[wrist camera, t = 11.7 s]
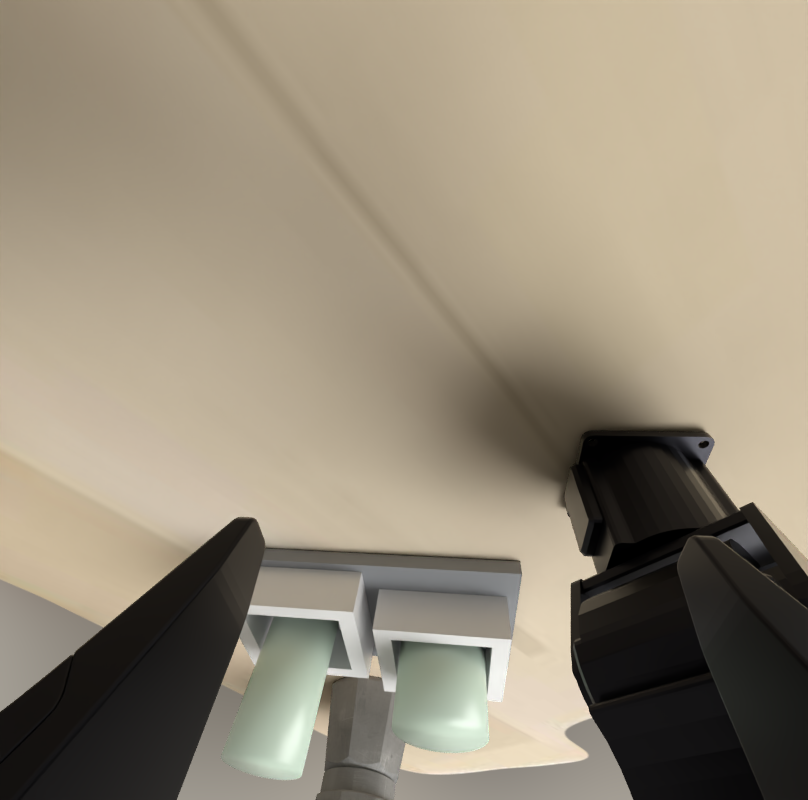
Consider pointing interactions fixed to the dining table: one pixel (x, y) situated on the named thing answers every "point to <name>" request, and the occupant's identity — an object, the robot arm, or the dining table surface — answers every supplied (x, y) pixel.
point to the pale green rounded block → (282, 699)
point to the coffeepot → (361, 742)
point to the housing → (403, 631)
